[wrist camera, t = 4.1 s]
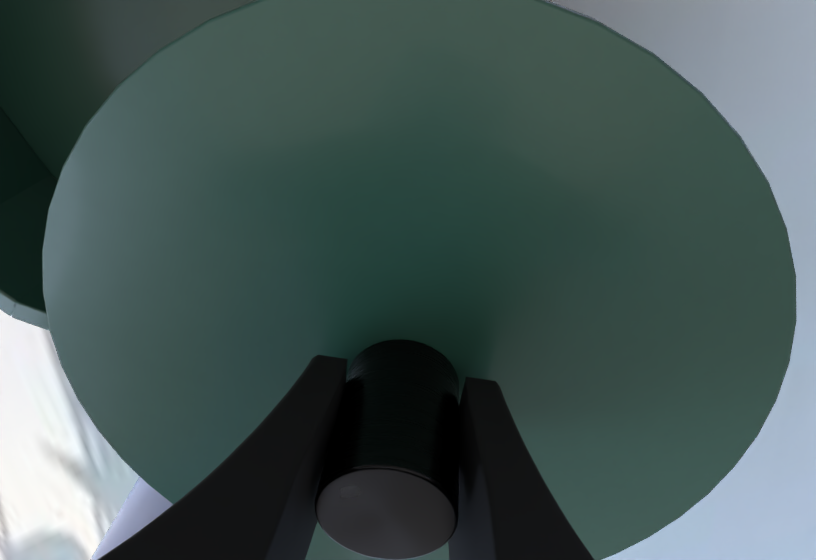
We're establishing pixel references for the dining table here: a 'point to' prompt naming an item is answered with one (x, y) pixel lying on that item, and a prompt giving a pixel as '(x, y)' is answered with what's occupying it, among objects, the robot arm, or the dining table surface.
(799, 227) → the dining table surface
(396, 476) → the pot lid
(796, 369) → the dining table surface
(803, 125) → the dining table surface
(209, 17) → the pot
